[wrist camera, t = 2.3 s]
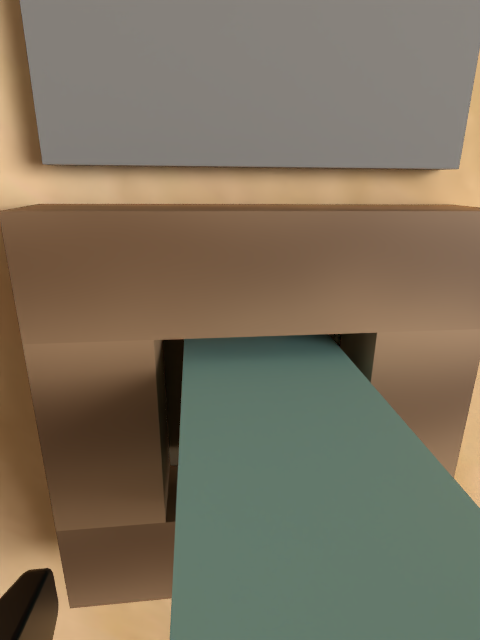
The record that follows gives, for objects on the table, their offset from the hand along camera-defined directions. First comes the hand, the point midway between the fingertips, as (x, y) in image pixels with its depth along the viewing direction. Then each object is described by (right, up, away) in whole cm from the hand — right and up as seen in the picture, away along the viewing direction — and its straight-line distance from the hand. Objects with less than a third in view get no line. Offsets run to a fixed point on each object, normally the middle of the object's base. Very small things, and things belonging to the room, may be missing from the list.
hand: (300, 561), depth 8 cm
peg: (-1, +2, +6) cm, 7 cm away
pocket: (-1, +2, +6) cm, 7 cm away
